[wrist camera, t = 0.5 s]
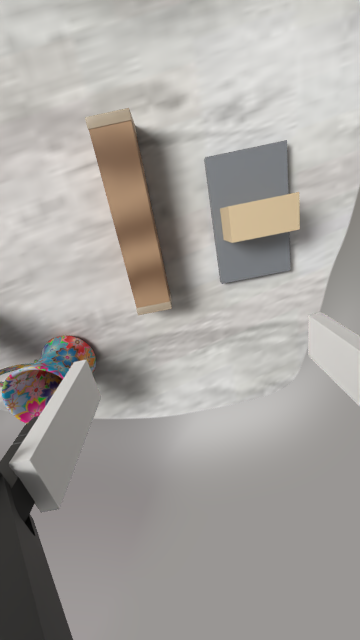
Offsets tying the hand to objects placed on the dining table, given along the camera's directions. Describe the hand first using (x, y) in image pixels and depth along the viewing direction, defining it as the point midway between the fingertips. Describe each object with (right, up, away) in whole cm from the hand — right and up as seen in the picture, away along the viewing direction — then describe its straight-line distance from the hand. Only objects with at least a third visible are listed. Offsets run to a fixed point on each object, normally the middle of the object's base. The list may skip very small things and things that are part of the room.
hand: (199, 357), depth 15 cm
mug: (-20, -3, +26) cm, 34 cm away
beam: (-7, +15, +20) cm, 26 cm away
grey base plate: (+8, +16, +20) cm, 27 cm away
